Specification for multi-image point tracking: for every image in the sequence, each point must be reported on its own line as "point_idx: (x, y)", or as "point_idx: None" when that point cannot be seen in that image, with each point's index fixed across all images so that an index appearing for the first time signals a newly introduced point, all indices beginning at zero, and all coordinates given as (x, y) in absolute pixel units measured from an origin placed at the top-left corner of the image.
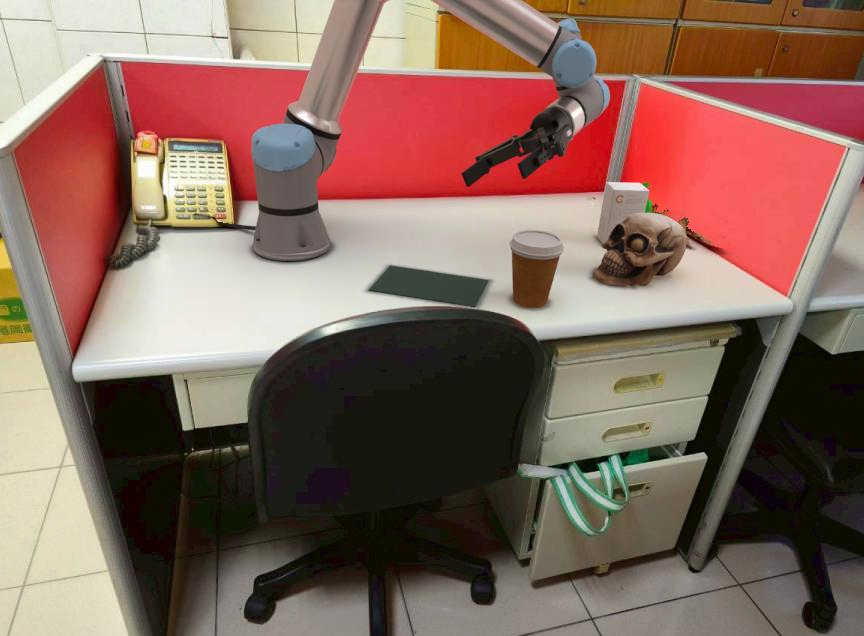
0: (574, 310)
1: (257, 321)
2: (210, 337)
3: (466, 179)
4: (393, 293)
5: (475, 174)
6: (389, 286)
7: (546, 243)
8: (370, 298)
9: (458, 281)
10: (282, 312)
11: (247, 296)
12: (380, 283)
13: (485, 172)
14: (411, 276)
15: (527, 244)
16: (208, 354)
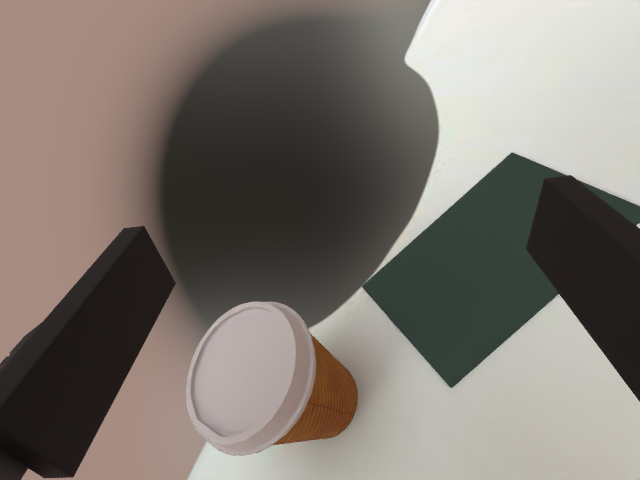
0: None
1: (472, 42)
2: (456, 17)
3: (537, 214)
4: (476, 184)
5: (580, 275)
6: (510, 184)
7: (217, 372)
8: (478, 152)
9: (474, 315)
10: (485, 59)
11: (563, 16)
12: (533, 172)
13: (636, 383)
14: None
15: (243, 323)
16: (422, 25)
